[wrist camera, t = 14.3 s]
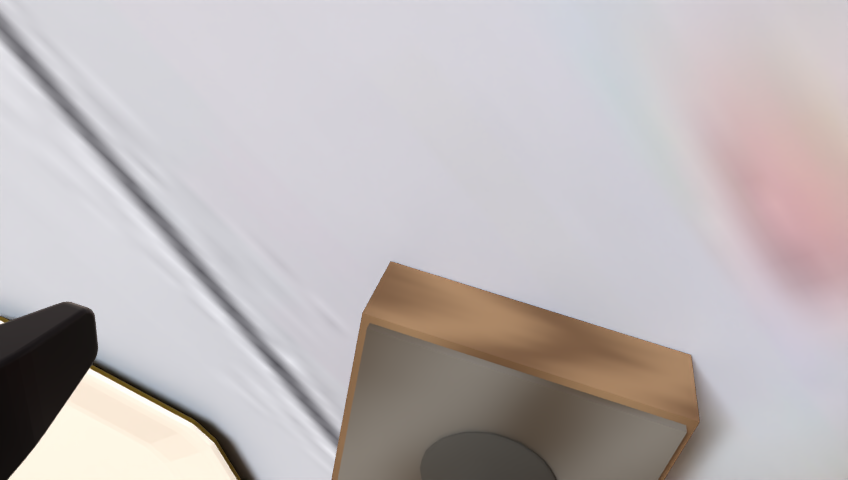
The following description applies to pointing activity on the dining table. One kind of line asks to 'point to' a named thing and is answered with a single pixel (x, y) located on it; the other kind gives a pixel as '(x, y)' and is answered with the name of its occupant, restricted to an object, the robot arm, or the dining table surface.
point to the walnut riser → (507, 385)
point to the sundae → (482, 459)
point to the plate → (123, 439)
